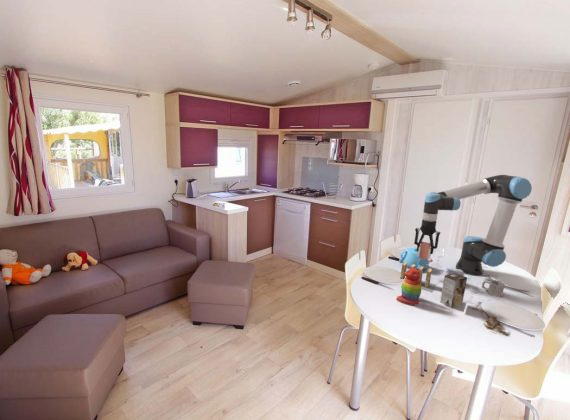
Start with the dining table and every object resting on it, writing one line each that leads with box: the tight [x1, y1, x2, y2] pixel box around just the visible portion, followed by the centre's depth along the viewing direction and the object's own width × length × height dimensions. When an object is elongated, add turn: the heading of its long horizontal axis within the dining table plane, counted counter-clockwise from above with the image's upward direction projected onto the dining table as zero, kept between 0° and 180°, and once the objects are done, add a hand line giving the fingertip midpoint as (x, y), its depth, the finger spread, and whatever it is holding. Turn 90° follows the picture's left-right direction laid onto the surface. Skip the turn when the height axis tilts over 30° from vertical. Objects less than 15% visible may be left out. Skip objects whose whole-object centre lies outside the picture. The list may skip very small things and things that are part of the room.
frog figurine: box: [484, 315, 511, 337], centre depth 136 cm, size 12×12×4 cm
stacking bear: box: [395, 268, 422, 306], centre depth 154 cm, size 11×10×18 cm
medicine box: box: [445, 268, 465, 276], centre depth 177 cm, size 8×4×9 cm, turn 84°
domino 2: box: [418, 266, 424, 283], centre depth 172 cm, size 2×5×10 cm, turn 143°
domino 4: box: [424, 267, 433, 288], centre depth 170 cm, size 2×5×10 cm, turn 143°
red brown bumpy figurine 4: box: [400, 262, 408, 279], centre depth 177 cm, size 2×5×10 cm, turn 143°
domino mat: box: [421, 280, 437, 293], centre depth 176 cm, size 26×12×1 cm, turn 53°
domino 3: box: [419, 241, 431, 261], centre depth 178 cm, size 2×5×10 cm, turn 53°
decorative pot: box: [398, 246, 430, 270], centre depth 198 cm, size 16×16×14 cm
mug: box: [481, 279, 506, 298], centre depth 169 cm, size 10×7×7 cm
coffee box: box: [439, 273, 468, 309], centre depth 152 cm, size 9×6×16 cm
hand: (423, 257), depth 179 cm, fingers closed on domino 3, 5 cm apart
